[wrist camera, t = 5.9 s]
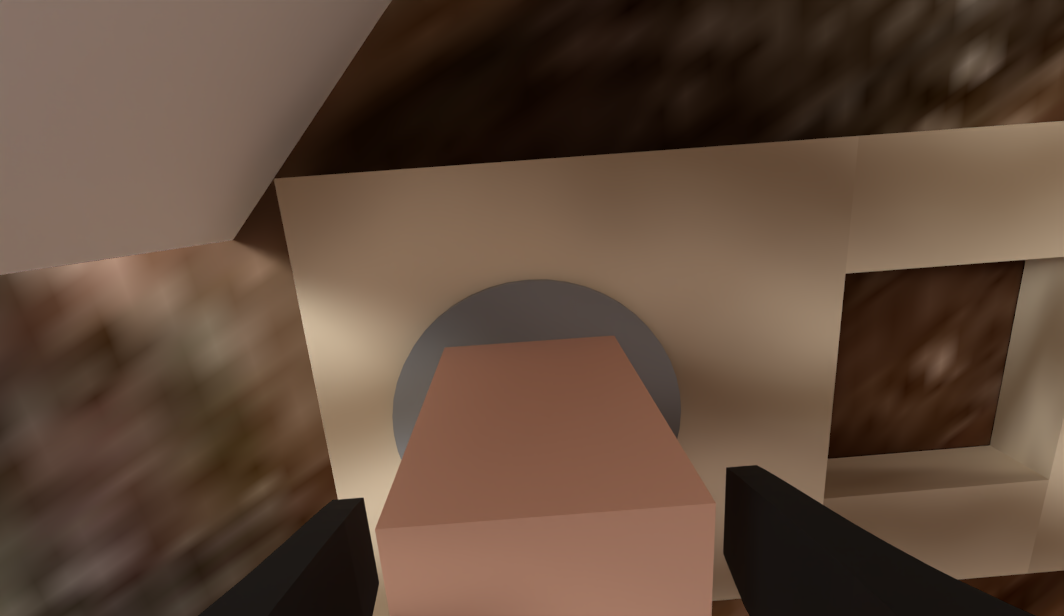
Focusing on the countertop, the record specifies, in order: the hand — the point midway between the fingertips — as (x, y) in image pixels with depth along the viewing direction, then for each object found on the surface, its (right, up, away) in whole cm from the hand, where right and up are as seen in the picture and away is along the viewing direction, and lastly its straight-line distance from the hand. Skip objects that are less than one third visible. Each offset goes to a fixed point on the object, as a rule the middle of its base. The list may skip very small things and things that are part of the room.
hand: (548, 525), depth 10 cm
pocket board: (+6, +2, +6) cm, 9 cm away
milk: (-10, +14, +3) cm, 18 cm away
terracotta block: (0, +1, +4) cm, 4 cm away
